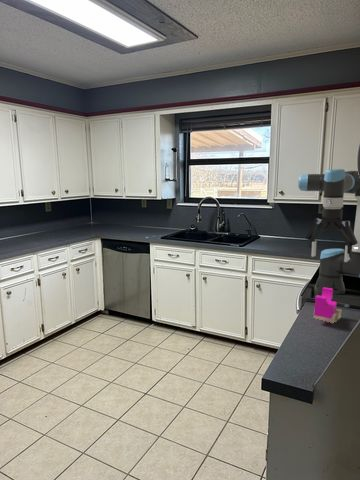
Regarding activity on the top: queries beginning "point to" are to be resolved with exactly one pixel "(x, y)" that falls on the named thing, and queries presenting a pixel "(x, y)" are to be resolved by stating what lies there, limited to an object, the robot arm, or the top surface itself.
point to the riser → (334, 318)
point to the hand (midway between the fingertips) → (329, 258)
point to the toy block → (325, 304)
